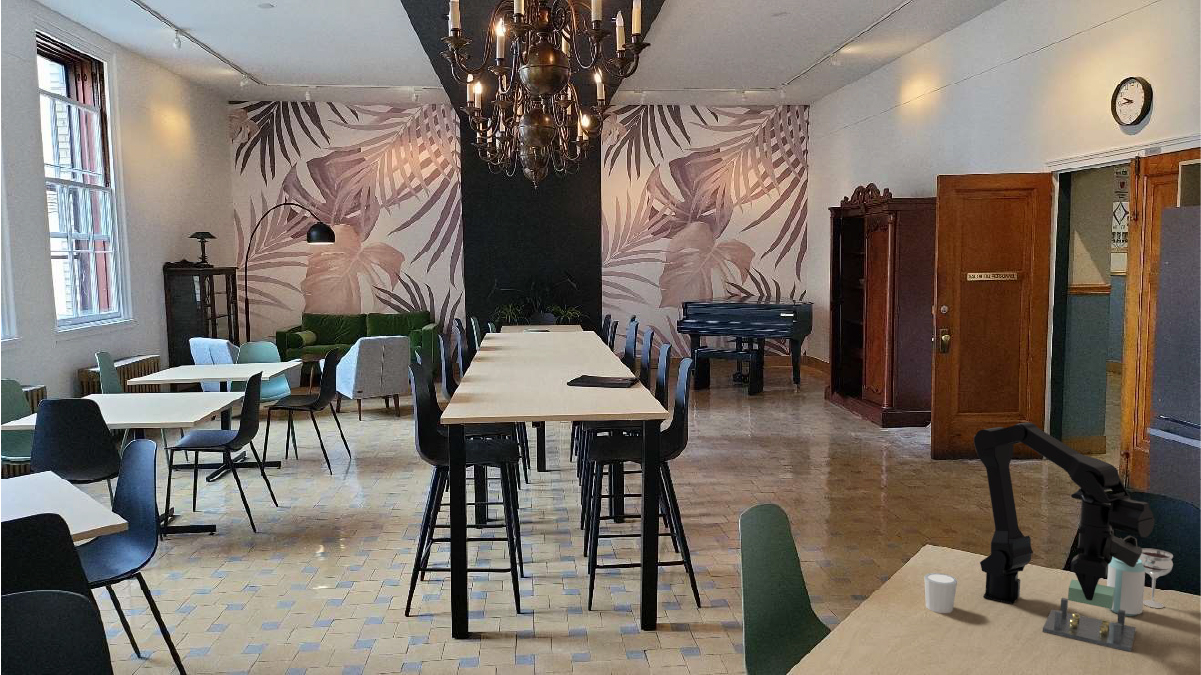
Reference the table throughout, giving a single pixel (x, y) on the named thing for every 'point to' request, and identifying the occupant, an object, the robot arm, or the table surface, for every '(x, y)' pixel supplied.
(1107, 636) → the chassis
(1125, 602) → the can
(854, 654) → the table surface
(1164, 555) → the wineglass
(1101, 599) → the green rectangular block
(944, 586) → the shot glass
